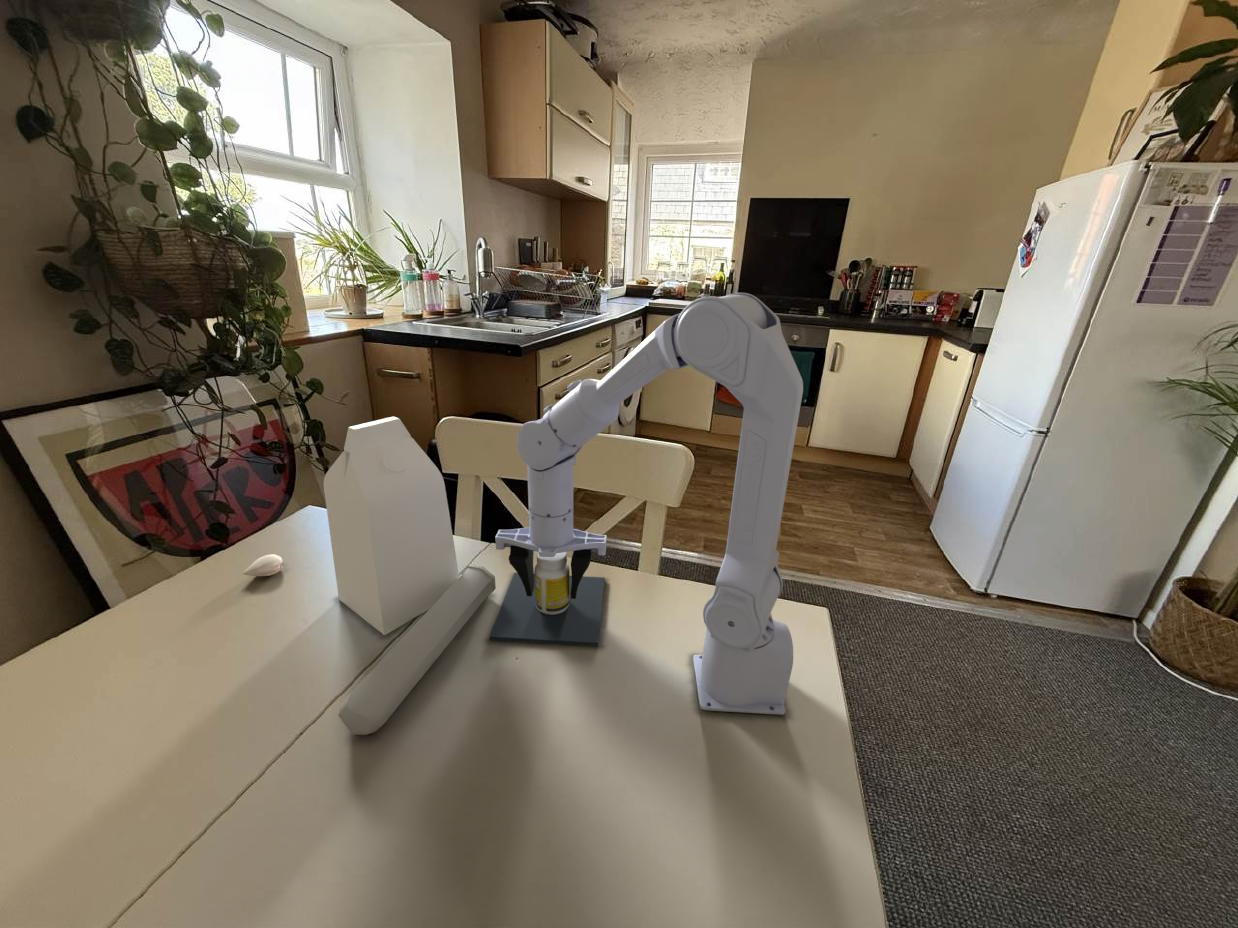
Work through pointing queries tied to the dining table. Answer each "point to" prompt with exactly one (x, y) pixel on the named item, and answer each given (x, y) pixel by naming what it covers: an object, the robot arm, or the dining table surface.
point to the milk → (388, 525)
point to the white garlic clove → (265, 566)
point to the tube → (415, 653)
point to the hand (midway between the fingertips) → (552, 593)
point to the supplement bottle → (552, 583)
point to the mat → (551, 616)
